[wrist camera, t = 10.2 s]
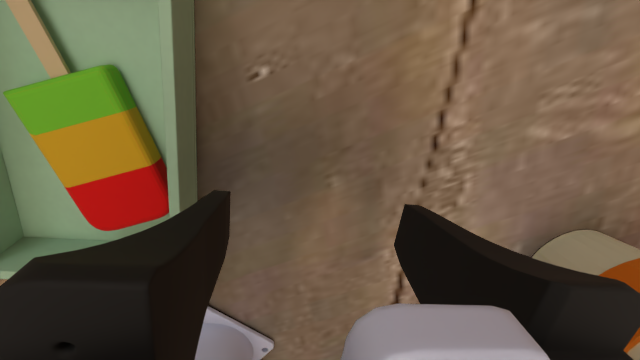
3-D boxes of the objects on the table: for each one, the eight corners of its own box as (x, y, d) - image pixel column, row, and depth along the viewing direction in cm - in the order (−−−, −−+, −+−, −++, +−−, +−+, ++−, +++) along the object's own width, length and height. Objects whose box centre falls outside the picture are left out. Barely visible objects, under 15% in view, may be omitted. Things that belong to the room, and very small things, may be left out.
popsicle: (108, 223, 21) (93, 239, 20) (-48, -30, 15) (-91, -39, 14) (186, 202, 21) (178, 216, 20) (61, -59, 15) (32, -73, 14)
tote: (198, 247, 24) (182, 284, 20) (22, 239, 22) (-31, 278, 18) (192, -86, 16) (165, -125, 12) (-81, -141, 14) (-209, -206, 10)
